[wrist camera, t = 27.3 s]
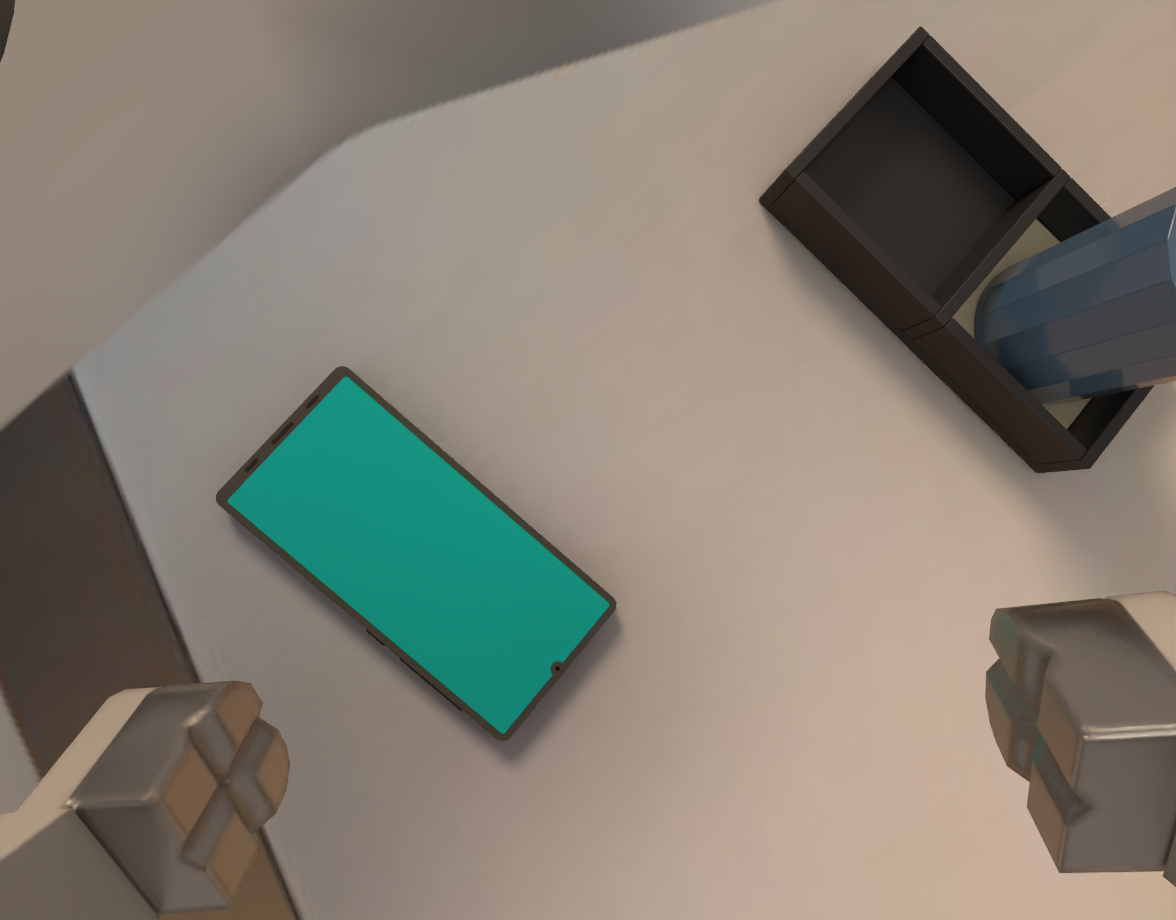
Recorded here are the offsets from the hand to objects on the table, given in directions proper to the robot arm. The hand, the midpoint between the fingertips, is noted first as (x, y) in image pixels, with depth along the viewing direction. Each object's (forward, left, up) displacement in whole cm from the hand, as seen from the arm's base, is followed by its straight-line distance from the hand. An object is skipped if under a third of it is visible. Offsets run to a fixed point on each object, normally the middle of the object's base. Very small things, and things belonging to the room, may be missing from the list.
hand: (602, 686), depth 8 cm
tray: (+6, +25, -24) cm, 35 cm away
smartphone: (-3, -2, -24) cm, 24 cm away
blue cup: (+11, +25, -23) cm, 35 cm away
